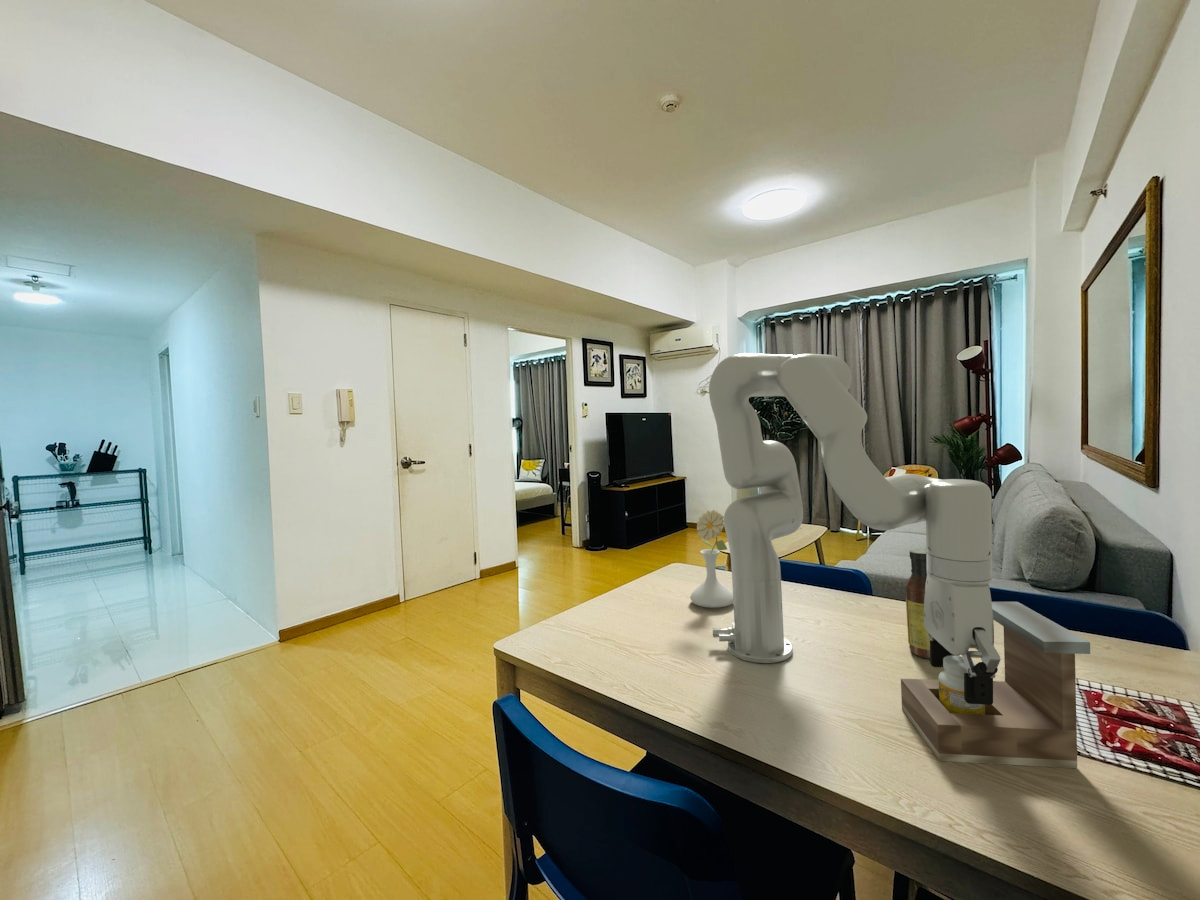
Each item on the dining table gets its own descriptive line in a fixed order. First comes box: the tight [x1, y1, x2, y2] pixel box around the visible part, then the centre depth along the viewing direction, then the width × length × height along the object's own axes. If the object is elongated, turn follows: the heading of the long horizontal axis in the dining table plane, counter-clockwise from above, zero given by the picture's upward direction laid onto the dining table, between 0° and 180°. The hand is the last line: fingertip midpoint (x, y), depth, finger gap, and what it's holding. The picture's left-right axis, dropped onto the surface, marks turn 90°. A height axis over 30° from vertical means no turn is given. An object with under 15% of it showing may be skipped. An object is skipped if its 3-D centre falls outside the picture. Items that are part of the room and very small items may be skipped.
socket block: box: [900, 601, 1091, 769], centre depth 70 cm, size 17×14×17 cm
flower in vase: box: [689, 509, 734, 609], centre depth 127 cm, size 13×11×25 cm
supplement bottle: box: [937, 655, 985, 715], centre depth 71 cm, size 5×5×10 cm
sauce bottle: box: [905, 548, 931, 660], centre depth 95 cm, size 7×6×20 cm
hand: (959, 683), depth 71 cm, fingers open, 9 cm apart
